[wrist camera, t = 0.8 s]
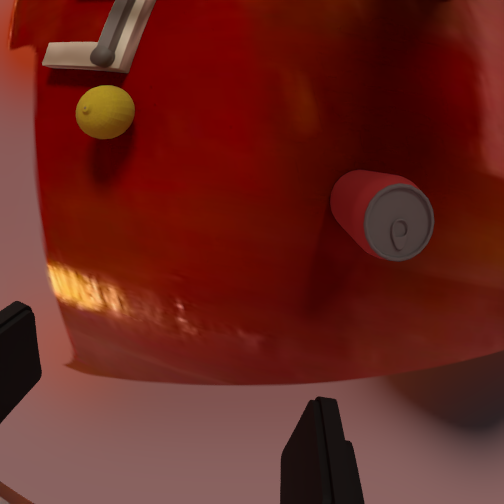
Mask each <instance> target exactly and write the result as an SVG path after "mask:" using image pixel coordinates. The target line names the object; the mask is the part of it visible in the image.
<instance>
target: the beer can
mask: <svg viewBox="0 0 504 504" xmlns="http://www.w3.org/2000/svg"><path fill="white" fill-rule="evenodd" d="M330 206H331V211H332V214H333V216H334V218H335V219H336V221H337V222H338V223H339V224H340V226H341V227H342V228H343V229H344V230H345V231H346V232H347V233H348V234H349V235H350V236H351V237H352V238H353V240H354V241H355V242H356V243H357V244H358V245H359V246H360V247H361V248H362V249H363V250H364V251H365V252H366V253H368V254H370V255H372V256H374V257H377V258H379V259H386V260H389V261H399V262H400V261H404V260H408V259H411V258H412V257H414V256H416V255H417V254H419V253H420V252H421V251H422V250H423V249H424V247H425V246H426V245H427V244H428V242H429V240H430V238H431V235H432V233H433V227H434V213H433V209H432V206H431V204H430V201H429V199H428V198H427V197H426V196H425V195H424V193H423V192H422V191H421V190H420V189H419V188H418V187H417V186H416V185H415V184H414V183H413V182H411V181H410V180H408V179H406V178H404V177H403V176H398V175H392V174H386V173H380V172H374V171H367V170H360V169H359V170H354V171H350V172H348V173H346V174H345V175H343V176H341V177H340V179H339V180H338V181H337V182H336V183H335V185H334V187H333V189H332V192H331V197H330Z"/></svg>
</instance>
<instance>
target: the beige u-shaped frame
mask: <svg viewBox="0 0 504 504" xmlns="http://www.w3.org/2000/svg"><path fill="white" fill-rule="evenodd" d="M155 2H156V0H115V2H114V5H113V7H112V9H111V11H110V14H109V16H108V18H107V21H106V23H105V26H104V28H103V31H102V33H101V36H100V39H99V41H98V42H58V43H49V45H48V48H47V51H46V54H45V57H44V60H43V63H42V65H44V66H47V67H50V68H63V69H85V70H100V71H111V72H121V73H128V72H129V69H130V66H131V63H132V60H133V58H134V55H135V52H136V49H137V46H138V44H139V41H140V38H141V36H142V33H143V31H144V28H145V26H146V23H147V21H148V18H149V16H150V13H151V11H152V9H153V6H154V4H155Z"/></svg>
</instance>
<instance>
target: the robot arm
mask: <svg viewBox="0 0 504 504" xmlns="http://www.w3.org/2000/svg"><path fill="white" fill-rule="evenodd" d="M41 374H42V370H41V365H40V358H39V351H38V343H37V335H36V325H35V316H34V313H33V312H32V310H31V308H30V307H29V306H27V305H26V304H23V303H21V302H19V301H15V302H13V303H12V304H11V305H9V306H7V307H6V308H4V309H3V310H1V311H0V423H1V422H2V421H3V420H4V419H5V418H6V416H7V415H8V414H9V413H10V412H11V411H12V410H13V408H14V407H15V406H16V405H17V404H18V403H19V402H20V401H21V400H22V399H23V397H24V396H25V395H26V394H27V393H28V392H29V391H30V390H31V389H32V388H33V386H34V385H35V384H36V383H37V382H38V381H39V380H40V378H41ZM0 504H34V503H32V502H31V501H29V500H27V499H26V498H24V497H23V496H21V495H20V494H18V493H16V492H15V491H13V490H12V489H10V488H9V487H7V486H6V485H4V484H3V483H2V482H0ZM280 504H364V498H363V493H362V488H361V483H360V478H359V473H358V468H357V463H356V458H355V454H354V449H353V446H352V443H351V442H350V441H346V440H345V438H344V432H343V428H342V423H341V418H340V414H339V409H338V404H337V401H336V399H332V398H325V397H317V398H316V399H315V400H310V401H309V402H308V404H307V406H306V408H305V410H304V412H303V414H302V416H301V418H300V420H299V422H298V424H297V426H296V428H295V430H294V432H293V433H292V435H291V437H290V439H289V441H288V443H287V445H286V446H285V448H284V450H283V452H282V456H281V487H280Z"/></svg>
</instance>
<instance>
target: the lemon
mask: <svg viewBox="0 0 504 504" xmlns="http://www.w3.org/2000/svg"><path fill="white" fill-rule="evenodd" d="M134 113H135V108H134V103H133V101H132V99H131V97H130V96H129V94H128V93H126V92H125V91H124V90H122V89H121V88H118V87H115V86H98V87H95V88H92V89H91V90H89V91H87V92H86V93H85V94H84V95H83V96H82V98H81V99H80V100H79V103H78V105H77V109H76V119H77V123H78V125H79V127H80V128H81V129H82V130H83V131H84V132H85V133H86V134H88V135H90V136H91V137H94V138H98V139H111V138H114V137H117V136H119V135H121V134H122V133H124V132H125V131H126V130H127V129H128V128H129V126H130V125H131V123H132V121H133V118H134Z"/></svg>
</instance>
